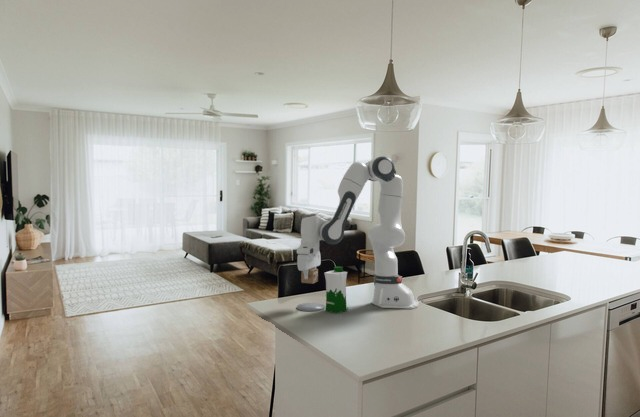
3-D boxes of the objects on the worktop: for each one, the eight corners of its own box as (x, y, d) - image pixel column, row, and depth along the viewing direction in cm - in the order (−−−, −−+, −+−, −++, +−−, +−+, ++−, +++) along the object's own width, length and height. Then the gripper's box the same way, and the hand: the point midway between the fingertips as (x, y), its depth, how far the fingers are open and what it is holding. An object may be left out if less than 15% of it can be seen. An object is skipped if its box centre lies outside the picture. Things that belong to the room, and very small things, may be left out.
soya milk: (349, 310, 194) (349, 267, 193) (336, 314, 187) (336, 269, 187) (335, 307, 200) (334, 265, 199) (322, 311, 193) (321, 267, 193)
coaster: (328, 305, 203) (328, 304, 203) (318, 312, 191) (318, 310, 191) (303, 303, 208) (303, 301, 208) (292, 310, 195) (292, 308, 195)
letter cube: (306, 280, 203) (306, 267, 203) (318, 281, 200) (318, 268, 200) (301, 282, 197) (301, 269, 197) (313, 283, 195) (313, 270, 195)
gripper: (312, 246, 209) (312, 273, 210) (295, 250, 190) (294, 280, 191) (324, 246, 207) (323, 274, 207) (307, 251, 188) (307, 281, 188)
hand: (309, 277), depth 199 cm, fingers closed on letter cube, 6 cm apart
